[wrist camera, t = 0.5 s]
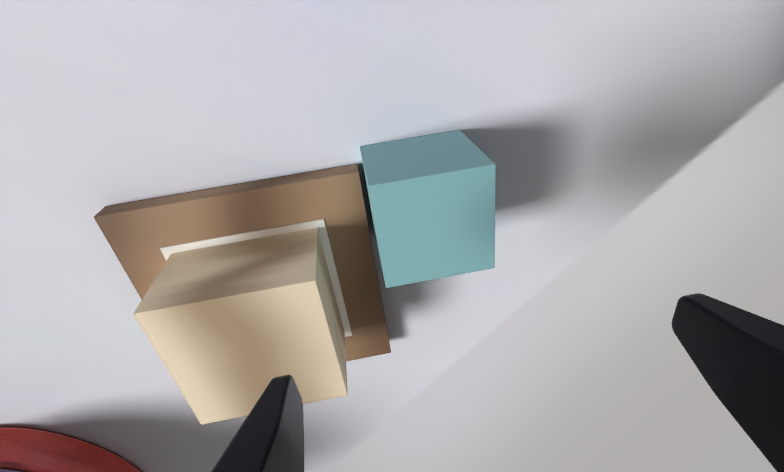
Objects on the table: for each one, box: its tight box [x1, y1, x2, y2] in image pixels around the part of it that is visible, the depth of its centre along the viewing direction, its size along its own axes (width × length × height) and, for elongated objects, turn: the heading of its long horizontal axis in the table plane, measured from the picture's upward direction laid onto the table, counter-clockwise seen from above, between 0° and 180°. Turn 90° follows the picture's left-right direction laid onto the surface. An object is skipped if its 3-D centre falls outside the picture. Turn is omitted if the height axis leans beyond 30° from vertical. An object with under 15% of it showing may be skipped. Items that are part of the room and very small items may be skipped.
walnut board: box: [94, 164, 391, 361], centre depth 20 cm, size 11×11×1 cm
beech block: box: [134, 228, 348, 425], centre depth 18 cm, size 6×6×4 cm
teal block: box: [360, 130, 496, 288], centre depth 17 cm, size 4×4×4 cm
